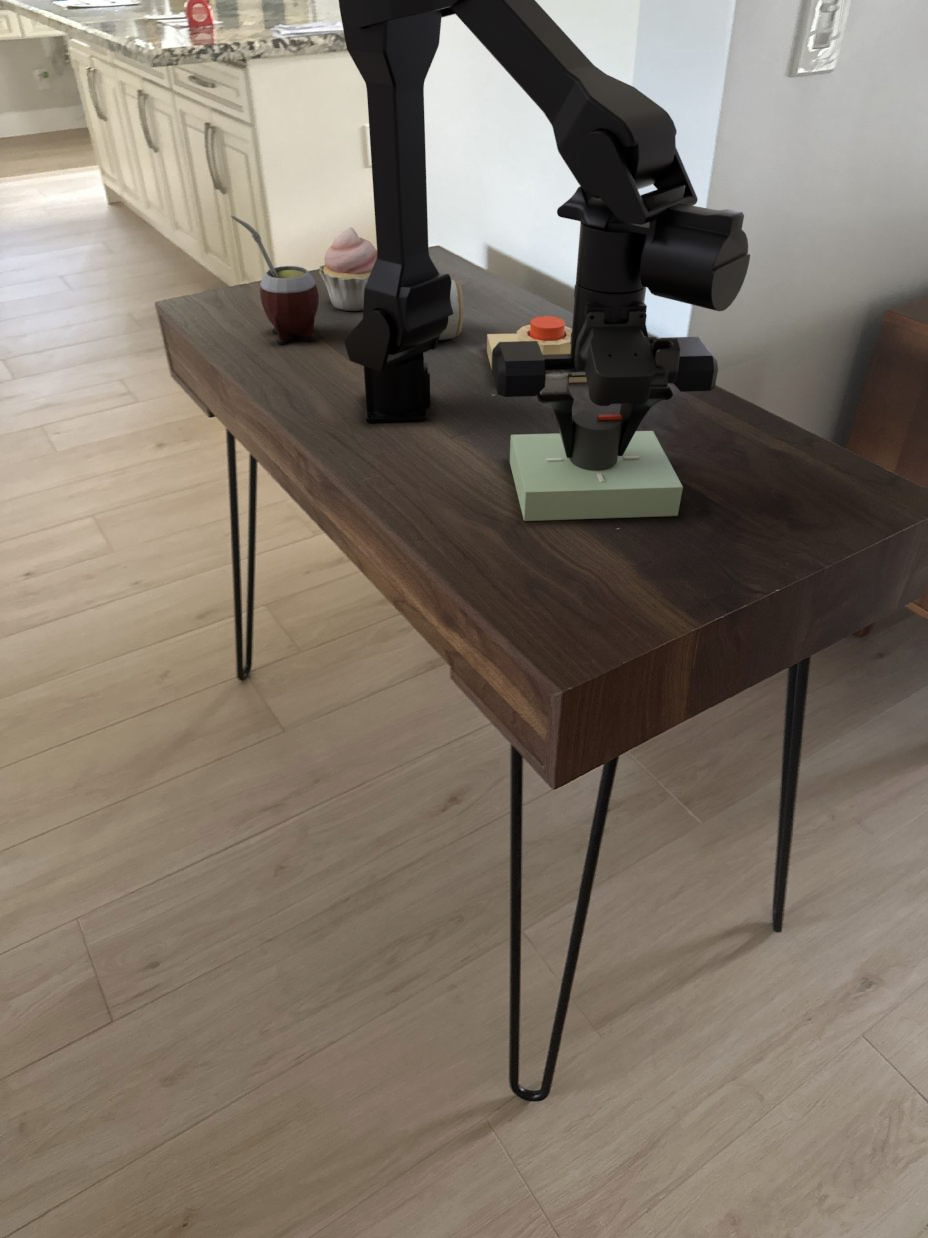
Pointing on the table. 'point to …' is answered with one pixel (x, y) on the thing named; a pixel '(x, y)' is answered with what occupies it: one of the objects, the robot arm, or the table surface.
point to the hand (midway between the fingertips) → (593, 455)
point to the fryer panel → (593, 481)
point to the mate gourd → (287, 297)
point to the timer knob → (595, 439)
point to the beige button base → (545, 346)
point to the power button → (547, 328)
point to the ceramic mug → (454, 313)
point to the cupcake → (348, 269)
